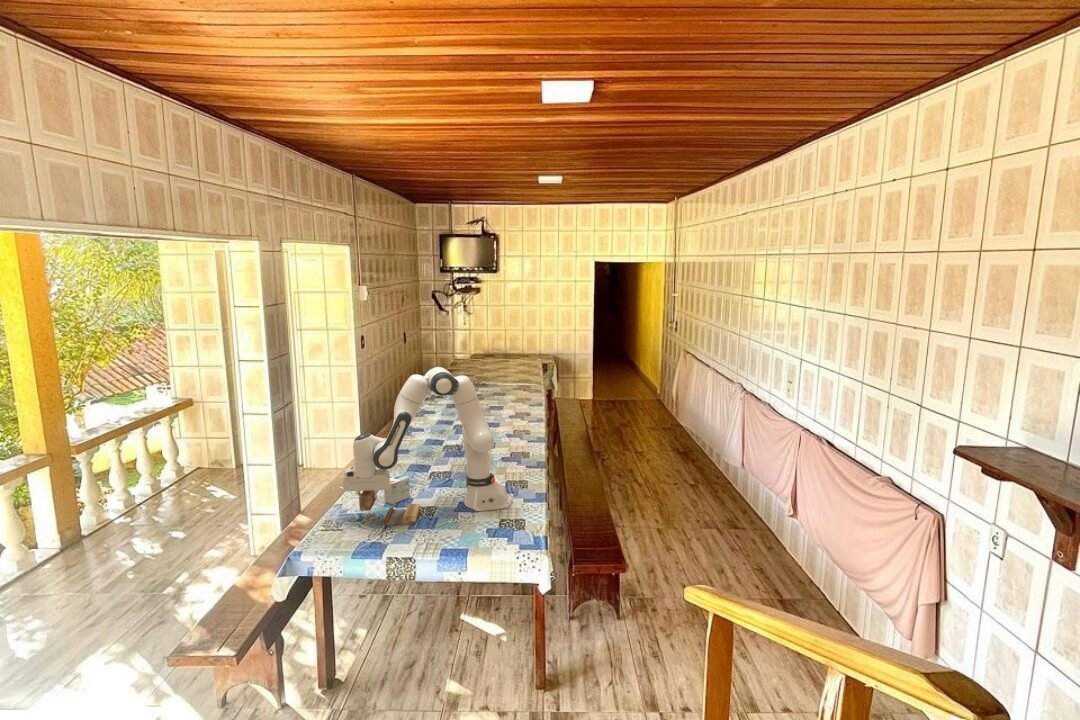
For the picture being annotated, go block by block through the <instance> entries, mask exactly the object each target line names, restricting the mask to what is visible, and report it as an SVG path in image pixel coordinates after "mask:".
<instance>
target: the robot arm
mask: <svg viewBox="0 0 1080 720" xmlns="http://www.w3.org/2000/svg"><path fill="white" fill-rule="evenodd" d="M431 392H433V393H434V394H435V395H437V396H442V397H443V396H451V398H452V401H453V404H454V406H455V410H456V413H457V416H458V419H459V421H460V422H461V423H460V424H461V426H462V428H461V434H462V438H463V439H462V441H463V446H464V447H463V448H464V452H465V459H466V474H465V475H466V476H465V485H466V486H465V487H466V492H465V497H464V502H463V503H464V505H465V507H467V508H469V509H471V510H474V511H476V512H483V511H484V512H486V511H494V510H500V509H501V510H502V509H503V510H504V509H508V508H509V507H510V506H511V504H512V497H511V495H509V494H508V493H507V491H506V488H505V487H504V485H502V484H500V483H499V482H497V481H496V479H495V474H494V473H492V472H491V457H490V454H489V452H490V451H491V450H492V449H493V448H494V446H495V438H494V436H493V433H492V430H491V428H490V426H489V423H488V421H487V418H486V416H485V414H484V412H483V410H482V406H481V403H480V400H479V397H478V393H477V390H476V389H475V386H474V384H473V383H472V380H471V378H469V377H468V376H467V375H457V376H453V374H452V373H451V372H450V371H449V370H448V369H446V367H445V366H444V367H443V366H441V365H434V366H432V367H430V368H429V369H428V370H426V371H424V373H422V374H415V373H414V374H411V375H410V376H409V377H408V378H407V380H406V381H405V383H404V384H403V385H402V388H401V389H400V391H399V393H398V395H397V397H396V400H395V402H394V408H393V423H392V425H391V429H389V433H388V435H387V437H379V436H375V435H374V434H371V433H367V432H366V433H362V434H359V435H357V436H356V437H355V438H354V440H353V447H352V448H353V449H352V450H353V458H354V465H352V466H350V467H347V468H346V469H345V471H344V473H343V475H344V477H343V481H342V489H343V491H344V492H355V494H356V495H357V496H358V498H359V497H360V496H361V494H362V493H361V491H362V492H363V491H371V490H375V492H376V493H375V494H373V499H376V500H377V499H378V494H379V493H378V492H379V491H384V490H388V489H389V488H390V479H389V478H391V473H390V471H389V470H390V469H392V468H394V467H395V466H396V464H397V462H398V457H399V454H398V453H399V449H400V447H401V444H402V442H403V439H404V438H405V435H406V433H407V431H408V428H409V426H410V425H411V424H412V421H413V420H414V419H415V417H416V416H417V414H418V412H419V411H420V409H421V407H422V404H423V402H424V401H425V398H426V397H427V396H428V395H429V394H430V393H431ZM377 468H378V469H377Z"/></svg>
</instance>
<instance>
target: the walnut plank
mask: <svg viewBox="0 0 1080 720" xmlns="http://www.w3.org/2000/svg"><path fill="white" fill-rule="evenodd" d="M375 493H376V492H375V490H371V491H362V493H361V496H360V497H359V496H358V503H359V511H360V512H364V511H365V512H366V511H367V512H370V511H371V510H372V509H373V507H374V505H375V503H376V501H377V499H373V494H375Z"/></svg>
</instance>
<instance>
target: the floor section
mask: <svg viewBox="0 0 1080 720" xmlns="http://www.w3.org/2000/svg"><path fill="white" fill-rule="evenodd" d="M420 507H421V506H420V503H408V504H407V506H406V509H394V507H392V506H391V507H389V508H388V511H387V513H386V515H385V517H384V519H383V521H384V522H383V525H386V526H387V527H388V526H416V523H417V522H418V521H417V520H418V518H419V515H420V512H421V509H420Z"/></svg>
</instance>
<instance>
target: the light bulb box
mask: <svg viewBox="0 0 1080 720" xmlns="http://www.w3.org/2000/svg"><path fill="white" fill-rule="evenodd" d="M389 479H390V488H389V489H388V490H383V492H384V502H387V503H389V504H391V505H395V504H397V503H400V502H401V501H404V500H407V499H409V498H411V493H410V492H411V491H410V490H411V489H410V476H408V475H405V474H403V473H400V474H397V475H395V476H392V477H389Z"/></svg>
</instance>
